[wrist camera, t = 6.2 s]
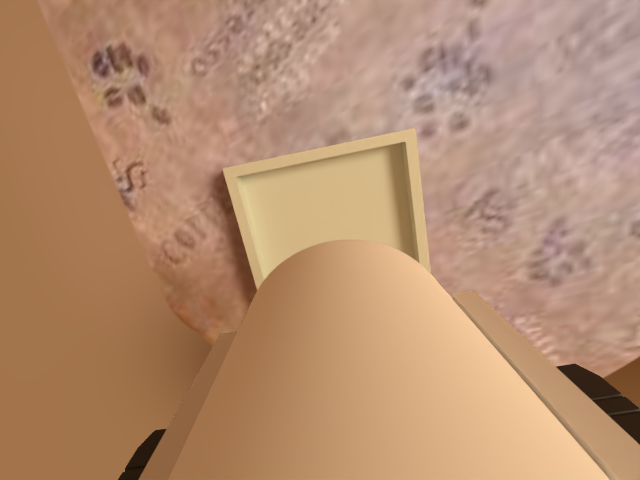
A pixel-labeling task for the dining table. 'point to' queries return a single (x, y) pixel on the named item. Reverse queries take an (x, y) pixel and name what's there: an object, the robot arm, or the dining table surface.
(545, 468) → the beverage can
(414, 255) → the holder tray
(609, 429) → the robot arm
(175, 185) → the dining table surface
